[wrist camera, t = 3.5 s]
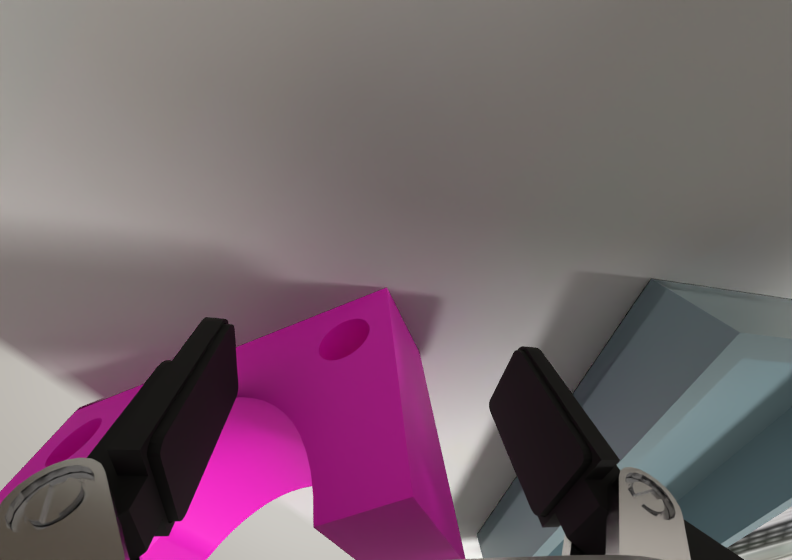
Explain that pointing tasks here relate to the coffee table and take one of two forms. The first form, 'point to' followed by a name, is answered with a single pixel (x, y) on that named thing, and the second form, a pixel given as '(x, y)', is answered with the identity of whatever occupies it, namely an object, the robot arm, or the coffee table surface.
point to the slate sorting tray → (685, 413)
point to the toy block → (312, 441)
